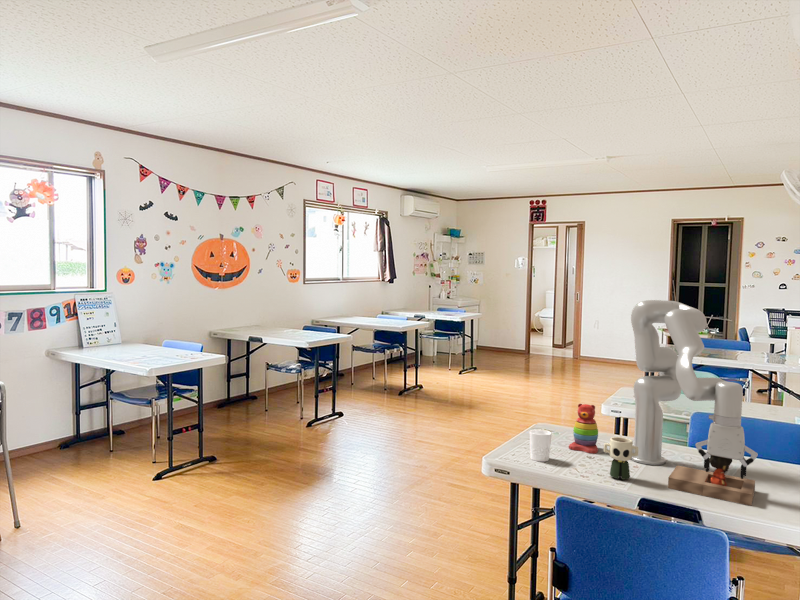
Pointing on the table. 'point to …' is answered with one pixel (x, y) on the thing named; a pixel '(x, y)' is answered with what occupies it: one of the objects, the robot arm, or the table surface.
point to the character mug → (620, 456)
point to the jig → (712, 485)
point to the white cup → (540, 445)
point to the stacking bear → (585, 430)
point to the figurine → (719, 469)
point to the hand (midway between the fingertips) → (724, 474)
